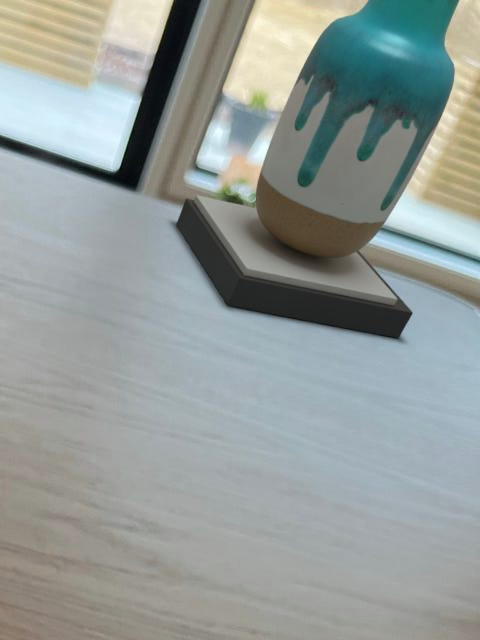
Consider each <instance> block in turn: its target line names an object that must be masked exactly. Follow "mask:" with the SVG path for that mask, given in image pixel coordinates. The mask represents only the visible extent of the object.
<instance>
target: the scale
mask: <svg viewBox="0 0 480 640" xmlns="http://www.w3.org/2000/svg"><path fill="white" fill-rule="evenodd" d="M176 226H177V227H178V229H179V231H180V232H181V234H182V235H183V237H184V239H185V240H186V242H187V244H188V245H189V246H190V248H191V250H192V252H193V253H194V254H195V256H196V258H197V259H198V261H199V262H200V264H201V265H202V268H203V269H204V270H205V271H206V273H207V275H208V277H209V278H210V280H211V282H212V283H213V284H214V287H216V289H217V290H218V292H219V294H220V296H221V297H222V299H223V300H224V301H225V303H226V305H227V306H229V307H234V308H238V309H239V308H240V309H244V310H248V311H249V310H250V311H255V312H260V313H266V314H271V315H276V316H279V317H280V316H281V317H287V318H292V319H297V320H302V321H307V322H312V323H313V322H314V323H317V324H323V325H328V326H333V327H338V328H344V329H349V330H353V331H359V332H365V333H369V334H370V333H371V334H375V335H381V336H385V337H391V338H395V339H399V338H400V336H401V335H402V334H403V332H404V329H405V328H406V326H407V325H408V322H409V321H410V319H411V318H412V316H413V311H412V310H411V308H409V306H408V305H407V304H406V302H404V301H403V300H402V299H401V297H400V296H399V295H398V294H397V293H396V292H395V290H394V289H393V288H392V287H391V286H390V285H389V283H388V282H387V281H386V280H385V279H384V278H383V277H382V276H381V274H379V272H378V271H377V270H376V269H375V268H374V266H373V265H372V264H371V263H370V262H369V261H368V260H367V259H366V257H365V256H364V254H362V253H361V252H360V250H358V251H357V252H355V253H353V254H350V255H348V256H344V257H339V258H324V257H318V256H313V255H309V254H306V253H303V252H300V251H298V250H295V249H293V248H291V247H289V246H287V245H285V244H284V243H282V242H280V241H279V240H278V239H276V238H275V237H274V236H272V235H271V234H270V233H269V232H268V231H267V229H266V228H265V227H264V226H263V224H262V223H261V221H260V219H259V217H258V213H257V209H256V207H251V206H248V205H242V204H239V203H234V202H230V201H226V200H221V199H216V198H212V197H208V196H203V195H197V194H196V195H195V197H194V199H191V198H185V201H184V203H183V206H182V208H181V210H180V213H179V216H178V218H177V221H176Z"/></svg>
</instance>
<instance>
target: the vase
mask: <svg viewBox="0 0 480 640" xmlns="http://www.w3.org/2000/svg"><path fill="white" fill-rule="evenodd" d="M459 2H460V0H367V1H366V3H365V4H364V6H362V7H361V8H360V9H359V10H358V11H357V12H355V13H353V14H350V15H346V16H342V17H339V18H337V19H334V20H333V21H331V22H330V23H329V25H328V26H327V27H326V28H325V29H324V30H323V31H322V32H321V34H320V35H319V37H318V39H317V40H316V42H315V43H314V45H313V47H312V49H311V50H310V53H308V56H307V57H306V59H305V62H304V64H303V65H302V68H301V70H300V72H299V74H298V76H297V78H296V81H295V82H294V85H293V87H292V89H291V91H290V94H289V96H288V98H287V100H286V103H285V105H284V106H283V110H282V112H281V114H280V117H279V119H278V121H277V124H276V126H275V129H274V132H273V134H272V137H271V139H270V142H269V145H268V148H267V151H266V153H265V156H264V159H263V163H262V165H261V169H260V172H259V175H258V179H257V183H256V189H255V208H256V209H257V213H258V217H259V219H260V221H261V223H262V224H263V226H264V227H265V228H266V229H267V231H268V232H269V233H270V234H271V235H272V236H274V237H275V238H276V239H278V240H279V241H280V242H282V243H284V244H285V245H287V246H289V247H291V248H293V249H295V250H298V251H300V252H303V253H306V254H309V255H313V256H318V257H324V258H339V257H344V256H348V255H350V254H353V253H355V252H357V251H360V250H361V249H363V248H364V247H365V246H367V245H368V244H369V243H370V242H371V241H372V240H373V239H374V238H375V237H376V235H377V234H378V233H379V232H380V231H381V229H382V228H383V226H384V225H385V223H386V222H387V221H388V219H389V217H390V215H391V214H392V212H393V211H394V209H395V207H396V206H397V204H398V202H399V201H400V199H401V198H402V196H403V194H404V192H405V190H406V189H407V187H408V185H409V184H410V182H411V180H412V178H413V175H414V174H415V172H416V170H417V168H418V166H419V164H420V163H421V160H422V159H423V157H424V156H425V155H424V154H425V153H426V150H427V149H428V147H429V145H430V142H431V141H432V138H433V136H434V134H435V132H436V130H437V128H438V125H439V124H440V121H441V119H442V116H443V114H444V112H445V109H446V106H447V105H448V101H449V99H450V96H451V93H452V91H453V86H454V84H455V74H456V73H455V72H456V68H455V64H454V62H453V59H452V58H451V56H450V55H449V53H448V52H447V48H446V45H445V44H446V35H447V32H448V28H449V26H450V23H451V21H452V20H453V16H454V14H455V11H456V9H457V7H458V5H459Z"/></svg>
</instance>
